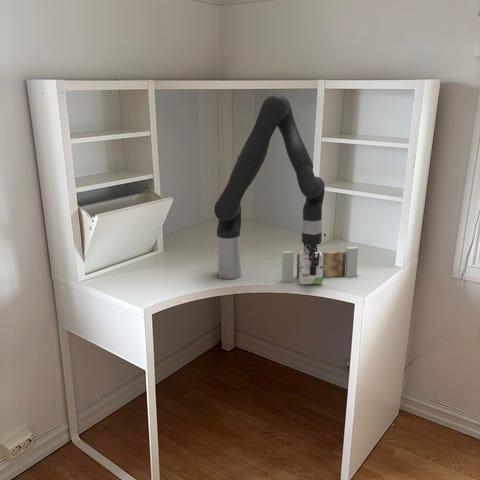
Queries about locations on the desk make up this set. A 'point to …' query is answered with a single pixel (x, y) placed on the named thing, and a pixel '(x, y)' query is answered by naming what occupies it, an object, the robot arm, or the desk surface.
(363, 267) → the desk surface
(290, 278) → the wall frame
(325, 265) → the brown patterned panel
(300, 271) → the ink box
